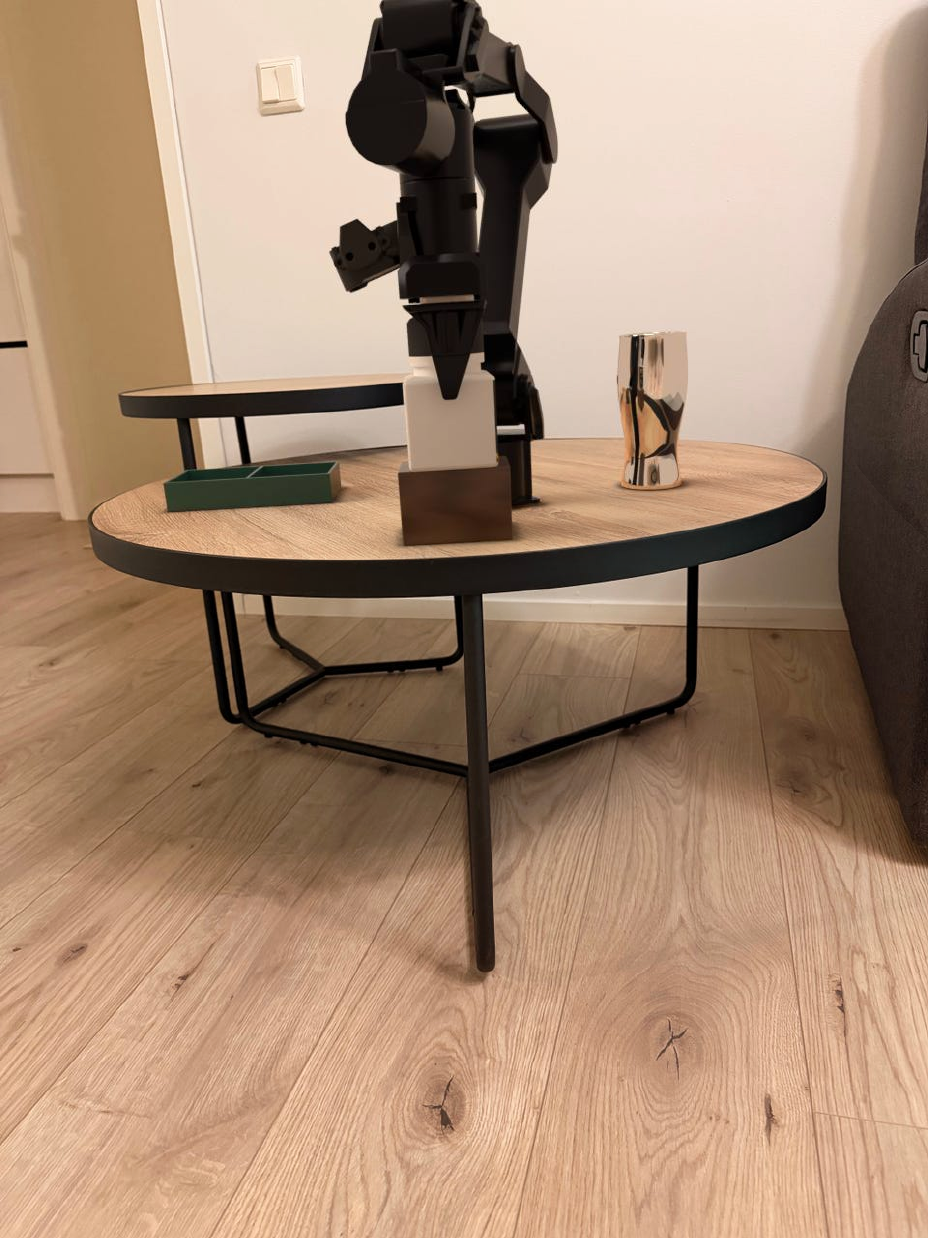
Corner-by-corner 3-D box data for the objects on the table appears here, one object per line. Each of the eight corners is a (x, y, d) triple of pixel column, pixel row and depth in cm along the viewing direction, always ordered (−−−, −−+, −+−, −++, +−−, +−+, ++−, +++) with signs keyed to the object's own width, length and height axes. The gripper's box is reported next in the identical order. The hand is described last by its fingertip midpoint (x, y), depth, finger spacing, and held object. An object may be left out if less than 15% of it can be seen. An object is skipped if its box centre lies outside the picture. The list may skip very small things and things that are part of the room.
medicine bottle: (498, 467, 73) (492, 308, 69) (409, 473, 73) (397, 313, 69) (492, 454, 80) (485, 309, 76) (410, 460, 80) (399, 314, 76)
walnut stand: (508, 523, 81) (506, 455, 79) (512, 539, 75) (510, 466, 73) (407, 529, 81) (401, 461, 79) (403, 545, 75) (397, 472, 73)
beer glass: (609, 481, 98) (608, 334, 93) (672, 476, 99) (675, 330, 94) (627, 492, 91) (627, 335, 87) (695, 487, 92) (699, 331, 87)
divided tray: (341, 487, 104) (339, 461, 103) (332, 502, 96) (329, 473, 95) (189, 496, 104) (185, 470, 103) (167, 511, 96) (163, 483, 95)
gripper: (344, 205, 79) (361, 392, 83) (314, 171, 61) (337, 411, 66) (474, 197, 79) (483, 385, 83) (482, 161, 61) (493, 402, 66)
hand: (449, 395), depth 74 cm, fingers open, 9 cm apart
